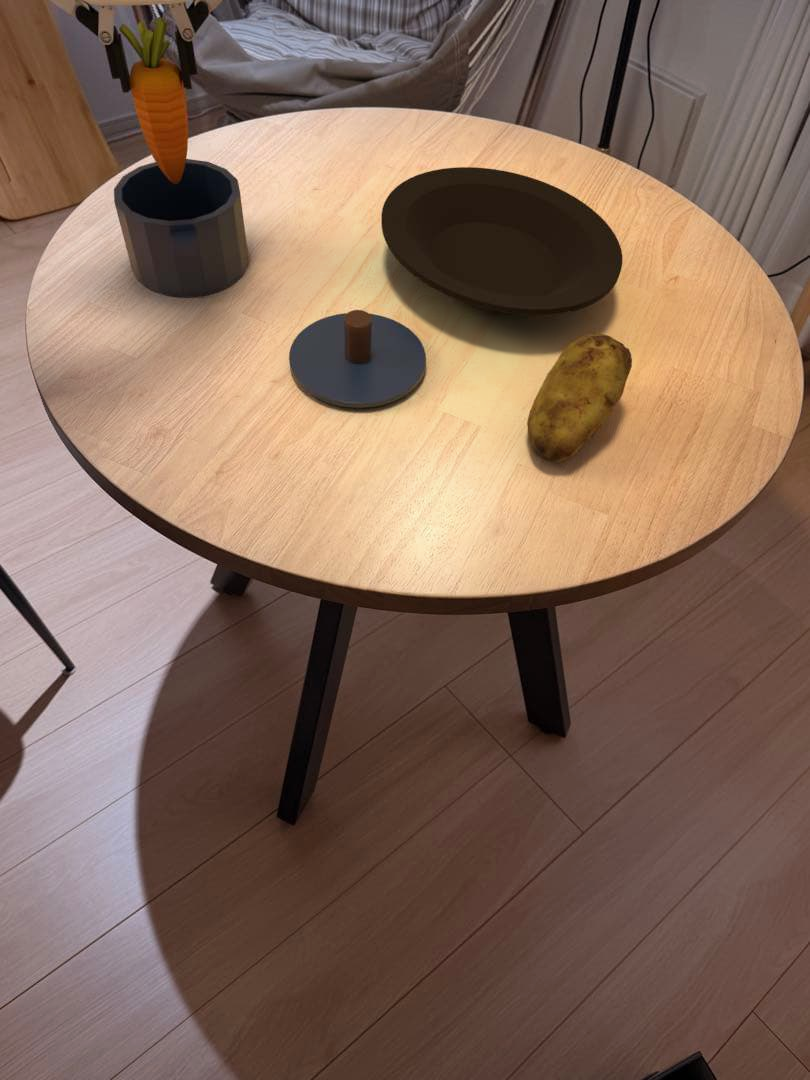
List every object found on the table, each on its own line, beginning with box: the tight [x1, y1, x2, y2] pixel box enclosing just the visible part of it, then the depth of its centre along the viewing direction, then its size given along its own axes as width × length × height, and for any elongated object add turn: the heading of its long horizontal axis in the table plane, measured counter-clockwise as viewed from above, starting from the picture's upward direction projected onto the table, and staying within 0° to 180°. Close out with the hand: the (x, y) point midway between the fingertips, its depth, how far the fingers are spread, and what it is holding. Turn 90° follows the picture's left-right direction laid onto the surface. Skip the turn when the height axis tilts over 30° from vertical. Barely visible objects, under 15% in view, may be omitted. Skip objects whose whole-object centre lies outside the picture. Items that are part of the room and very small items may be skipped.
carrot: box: [118, 16, 189, 184], centre depth 75 cm, size 5×5×15 cm
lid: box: [288, 309, 427, 409], centre depth 77 cm, size 14×14×6 cm
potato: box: [526, 333, 633, 463], centre depth 72 cm, size 8×13×8 cm, turn 131°
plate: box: [380, 166, 623, 316], centre depth 87 cm, size 28×24×6 cm
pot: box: [113, 158, 249, 298], centre depth 85 cm, size 13×18×8 cm
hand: (156, 82), depth 73 cm, fingers closed on carrot, 4 cm apart
